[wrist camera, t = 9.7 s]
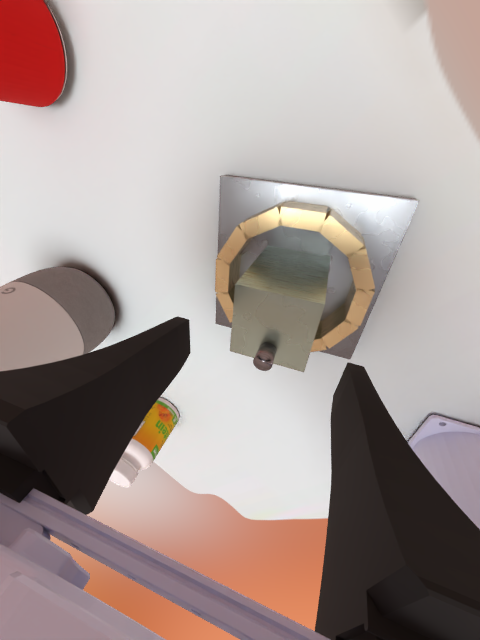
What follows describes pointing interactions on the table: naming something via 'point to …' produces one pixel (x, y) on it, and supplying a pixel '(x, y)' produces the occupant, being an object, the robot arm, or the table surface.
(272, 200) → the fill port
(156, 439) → the supplement bottle
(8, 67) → the beverage can
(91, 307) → the smart speaker
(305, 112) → the table surface
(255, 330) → the spout can
